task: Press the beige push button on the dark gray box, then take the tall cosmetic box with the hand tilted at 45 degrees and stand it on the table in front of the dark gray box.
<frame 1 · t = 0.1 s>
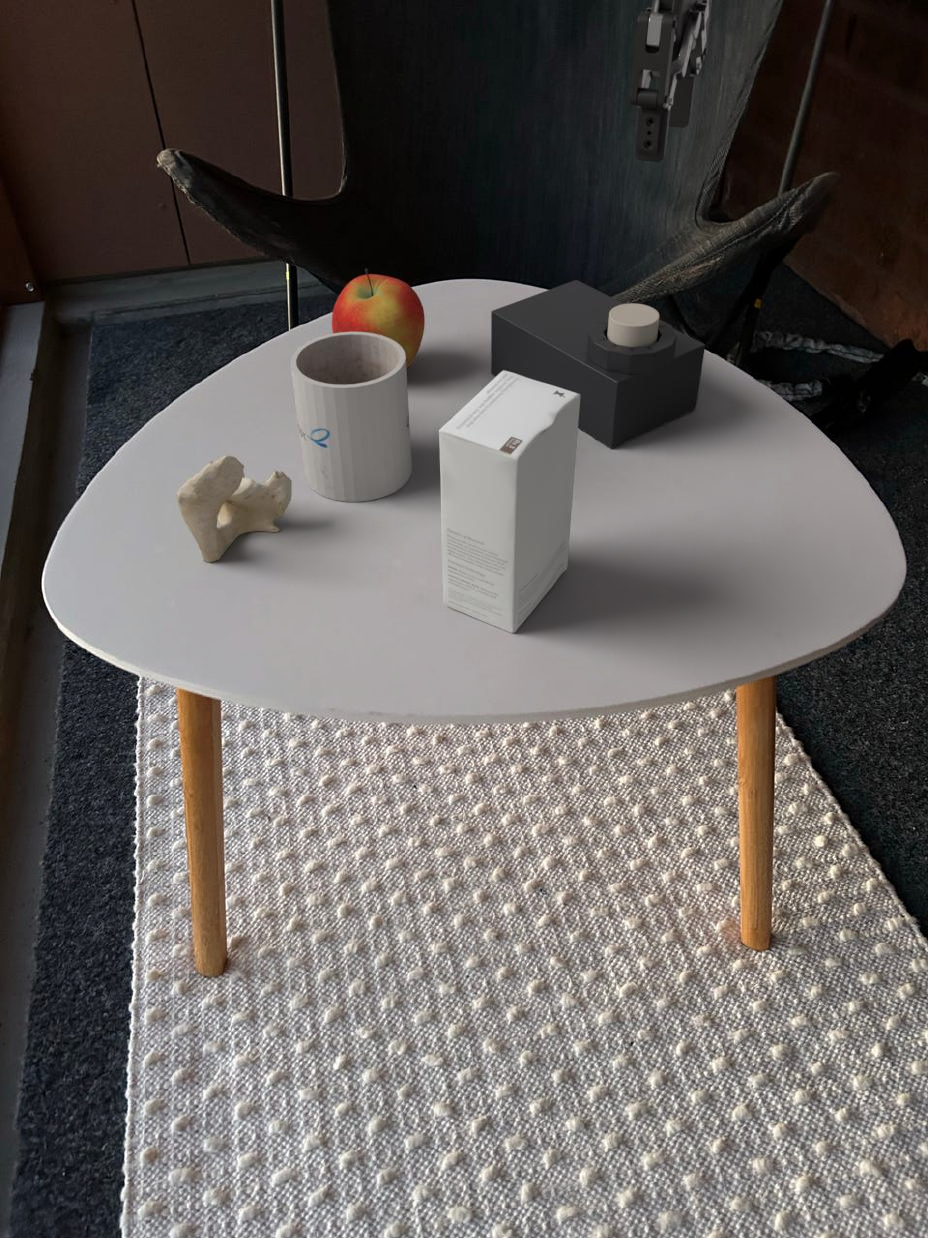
hand: (663, 141, 86), 20 cm above the table, tool pointing down, fingers open, 8 cm apart
dark gray box: (590, 391, 97), on the table
cosmetic box: (507, 592, 76), on the table
bone: (238, 533, 82), on the table
beige push button: (633, 326, 87), point 9 cm above the table, slide at 0.1 cm
apple: (382, 372, 100), on the table
mug: (355, 460, 89), on the table
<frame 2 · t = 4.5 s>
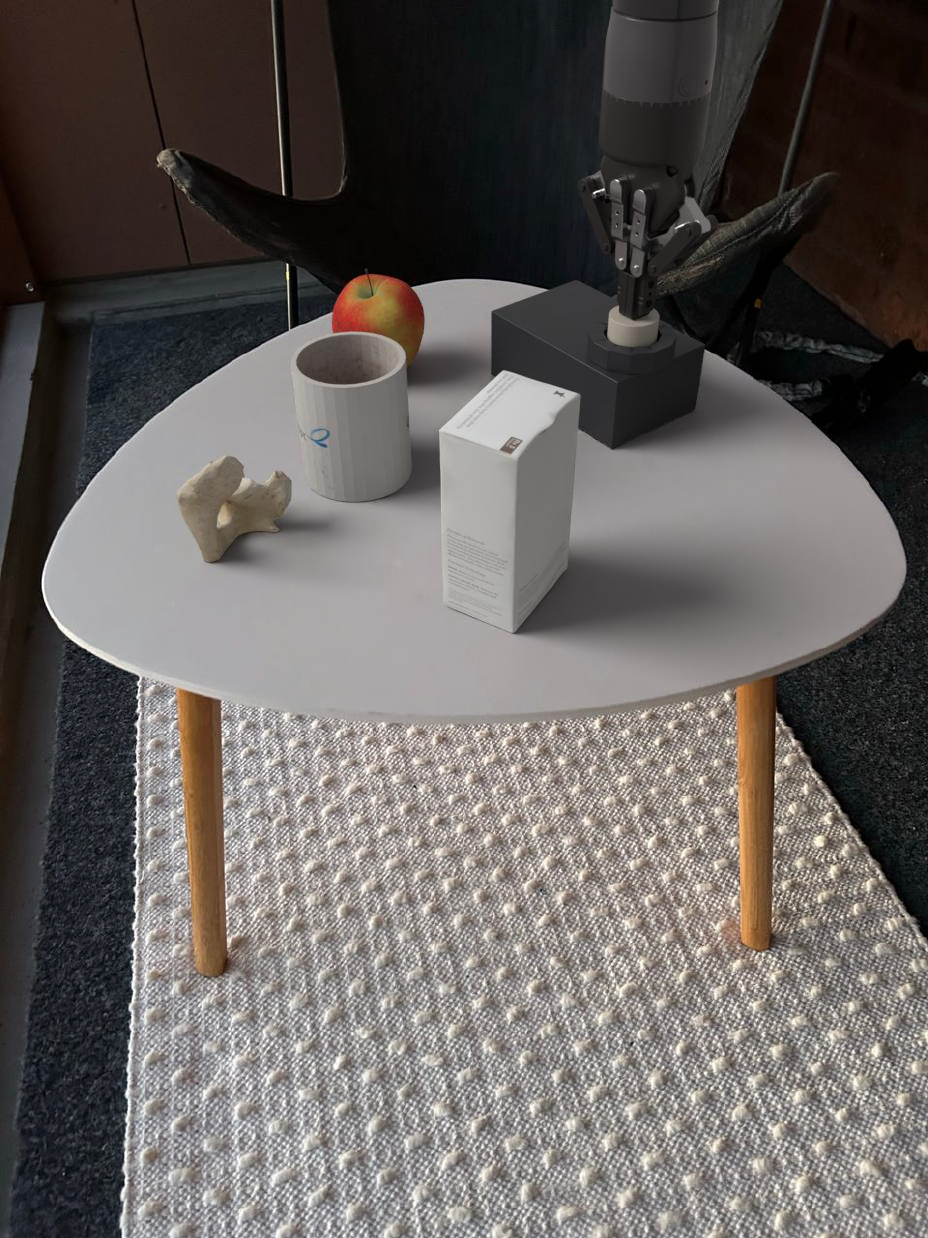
hand: (634, 314, 87), 10 cm above the table, tool pointing down, fingers closed
beige push button: (633, 326, 87), point 9 cm above the table, slide at 0.0 cm, touching gripper
everything else where it was.
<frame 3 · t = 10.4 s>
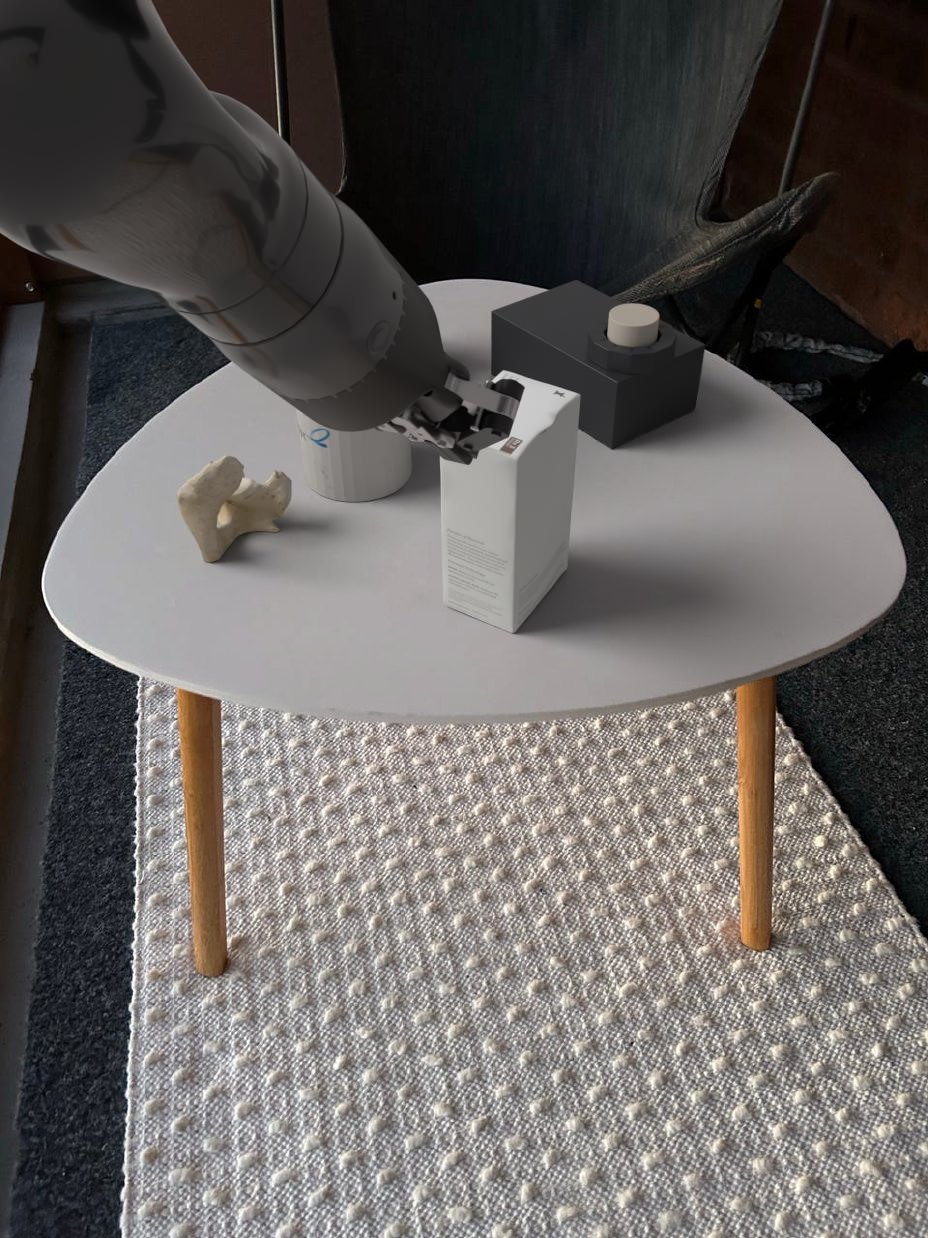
hand: (464, 445, 60), 16 cm above the table, tool tilted 40°, fingers closed
beige push button: (633, 326, 87), point 9 cm above the table, slide at 0.1 cm
everything else where it was.
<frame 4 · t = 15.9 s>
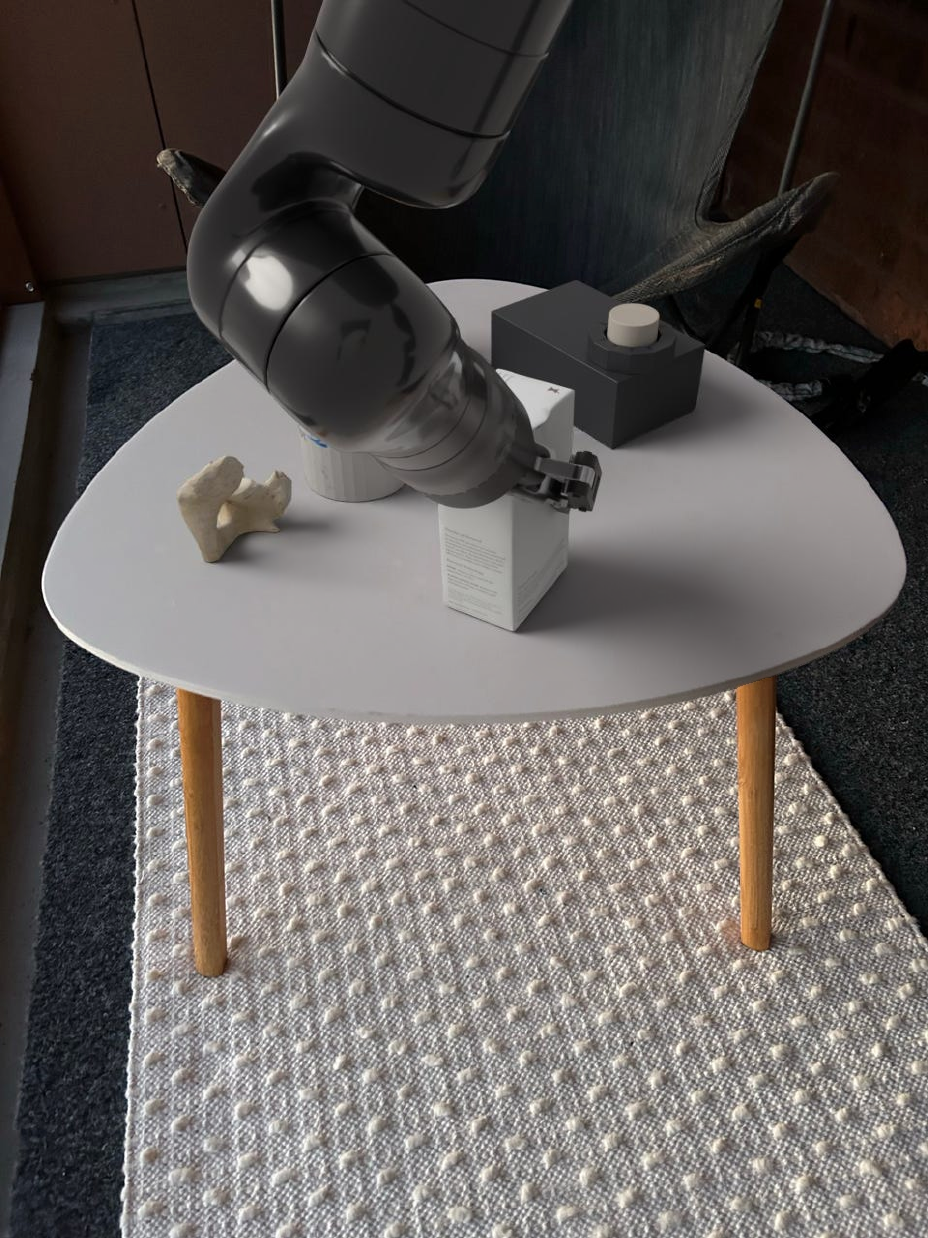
hand: (518, 487, 73), 7 cm above the table, tool tilted 45°, fingers closed on cosmetic box, 6 cm apart
cosmetic box: (507, 592, 76), on the table, touching gripper
everything else where it was.
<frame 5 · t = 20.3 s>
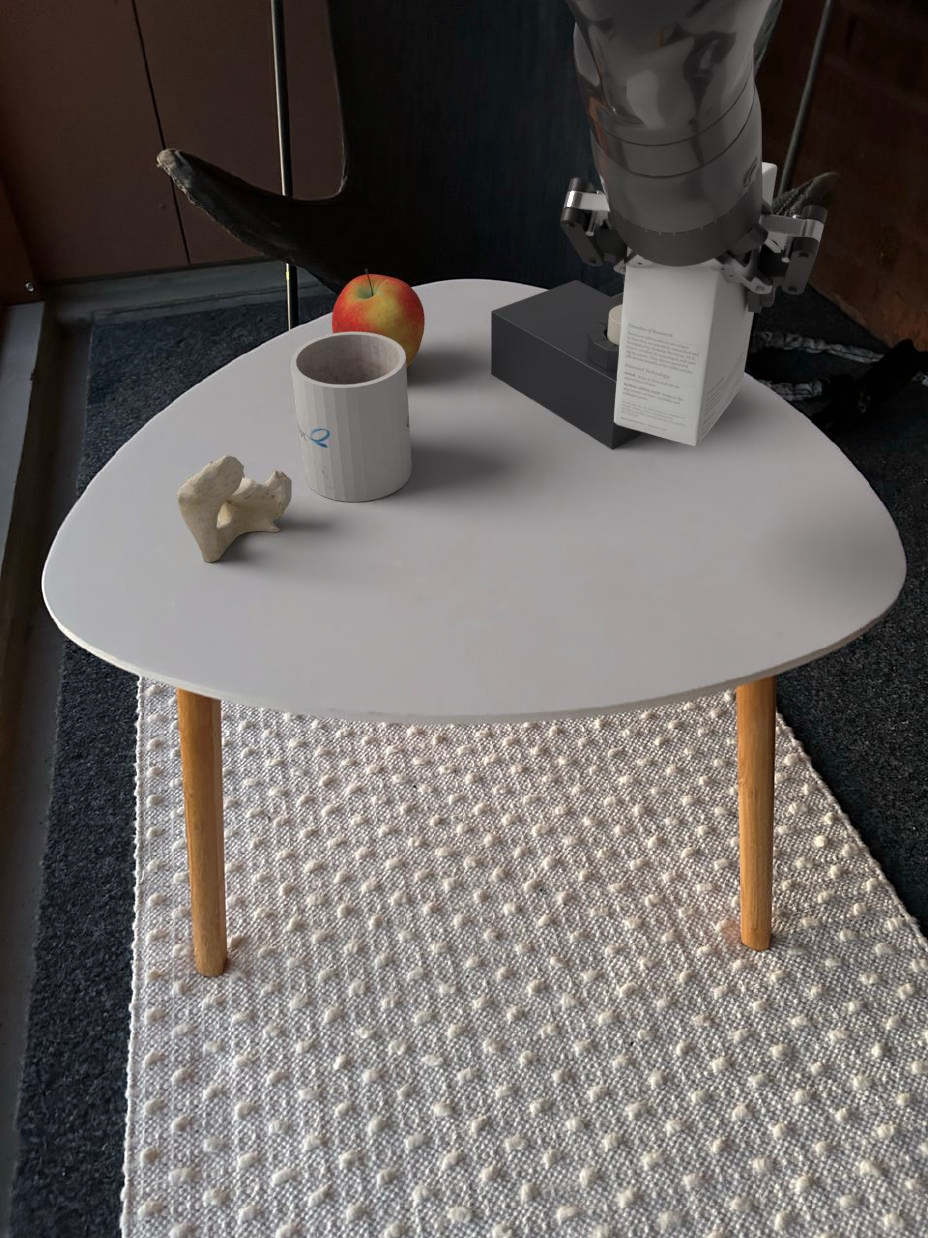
hand: (700, 288, 67), 20 cm above the table, tool tilted 45°, fingers closed on cosmetic box, 6 cm apart
cosmetic box: (679, 413, 70), point 12 cm above the table, touching gripper
everything else where it was.
when the fingers open (7 cm above the table, at t = 24.7 s): cosmetic box stays where it is, on the table.
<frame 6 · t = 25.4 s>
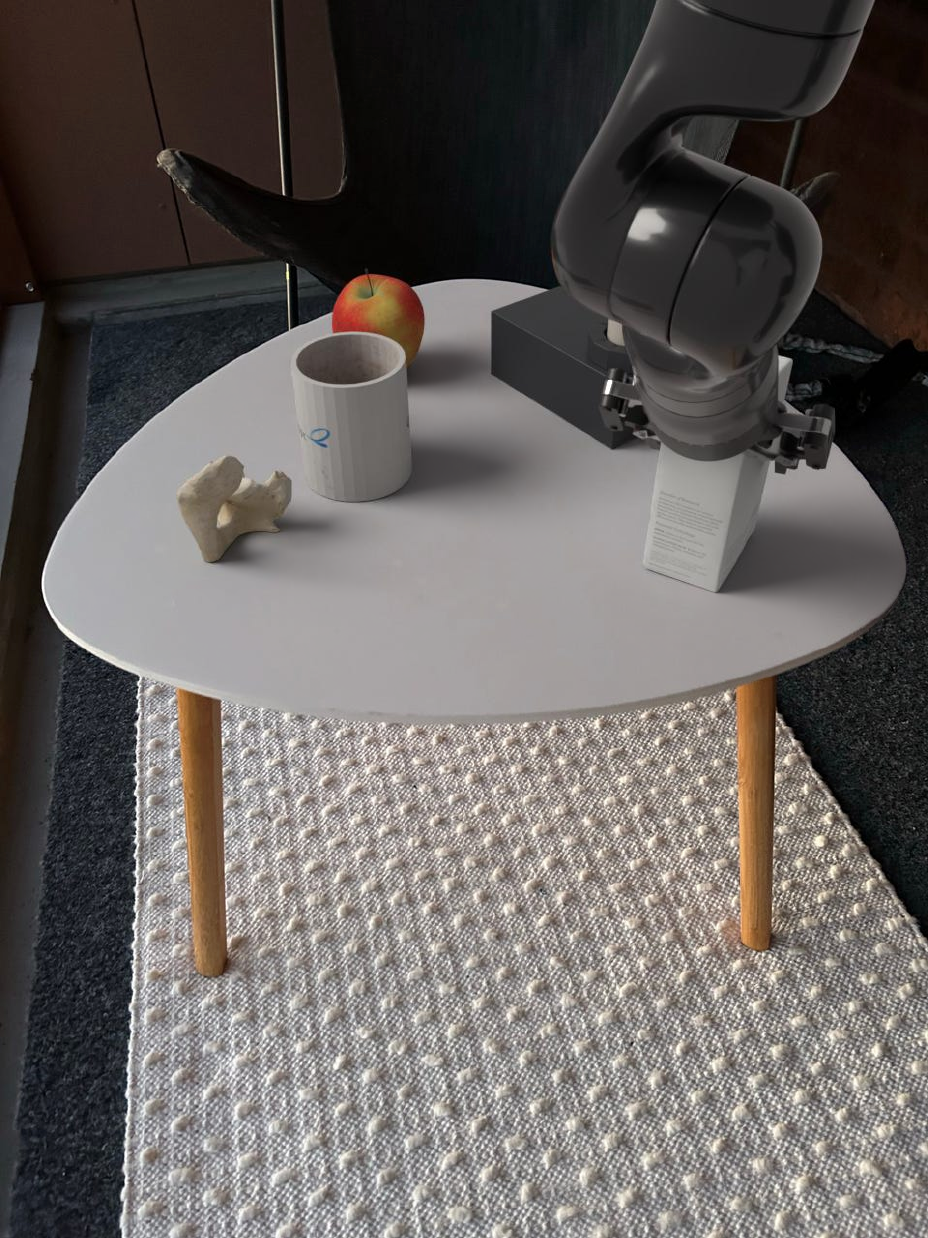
hand: (720, 447, 75), 8 cm above the table, tool tilted 45°, fingers open, 8 cm apart
cosmetic box: (699, 555, 79), on the table
everything else where it was.
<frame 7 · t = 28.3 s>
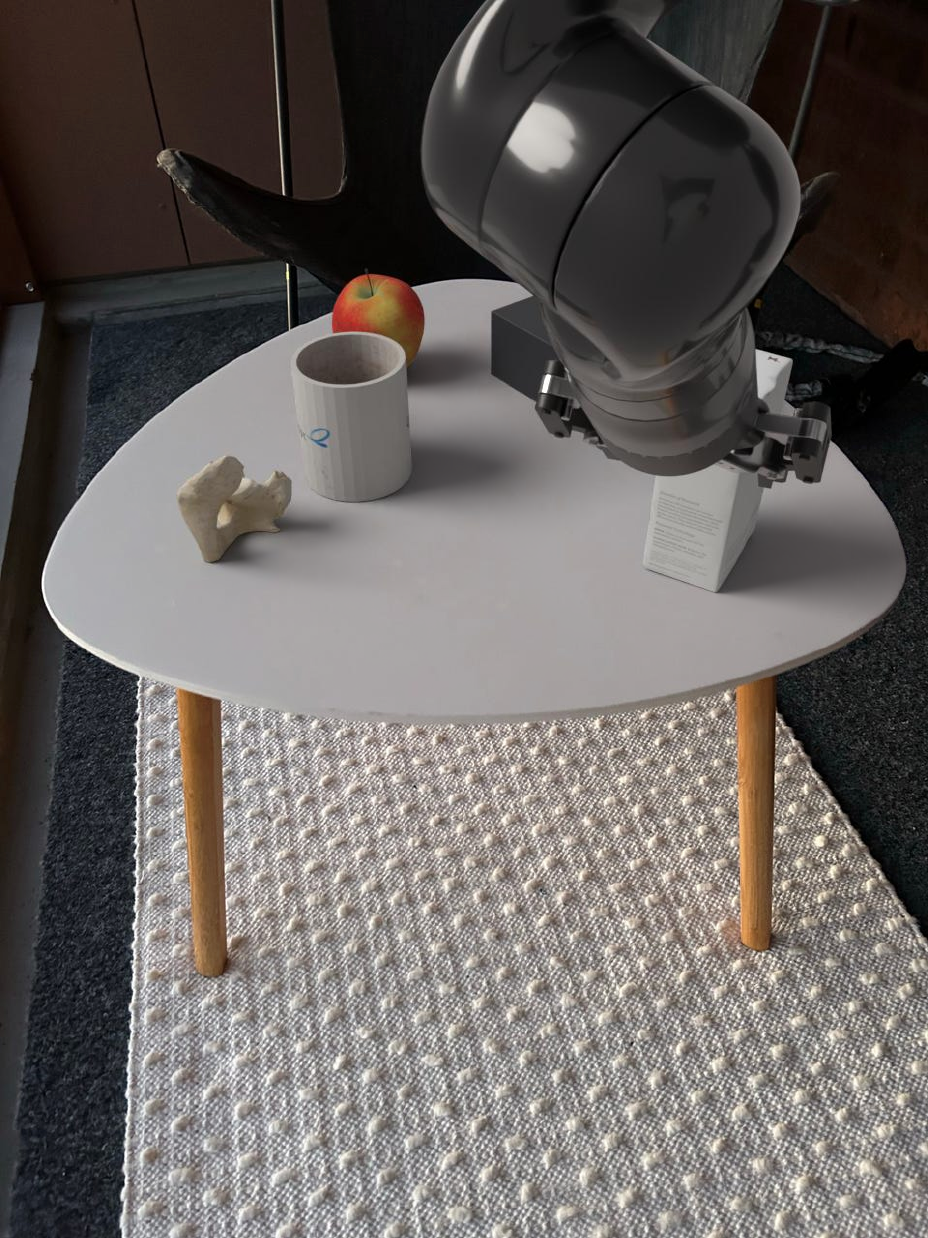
hand: (692, 455, 61), 15 cm above the table, tool tilted 45°, fingers open, 8 cm apart
nothing on the table moved.
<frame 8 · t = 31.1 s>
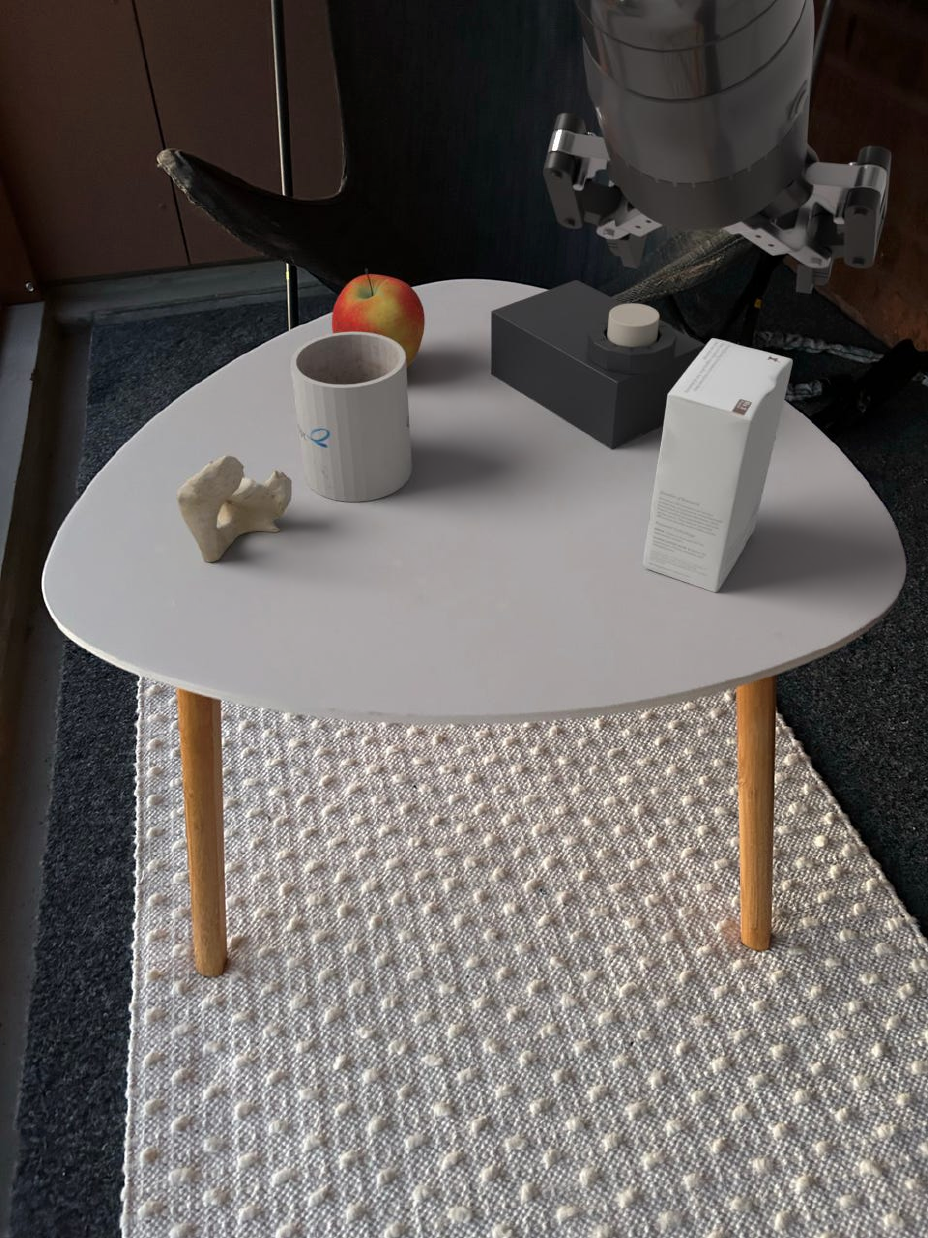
hand: (720, 261, 54), 27 cm above the table, tool tilted 45°, fingers open, 8 cm apart
nothing on the table moved.
at the end: beige push button pushed in 1.0 cm at the most during the clip, back to where it started at the end; cosmetic box inside the target area (0.4 cm from its centre), on the table; cosmetic box tilted 0° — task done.
